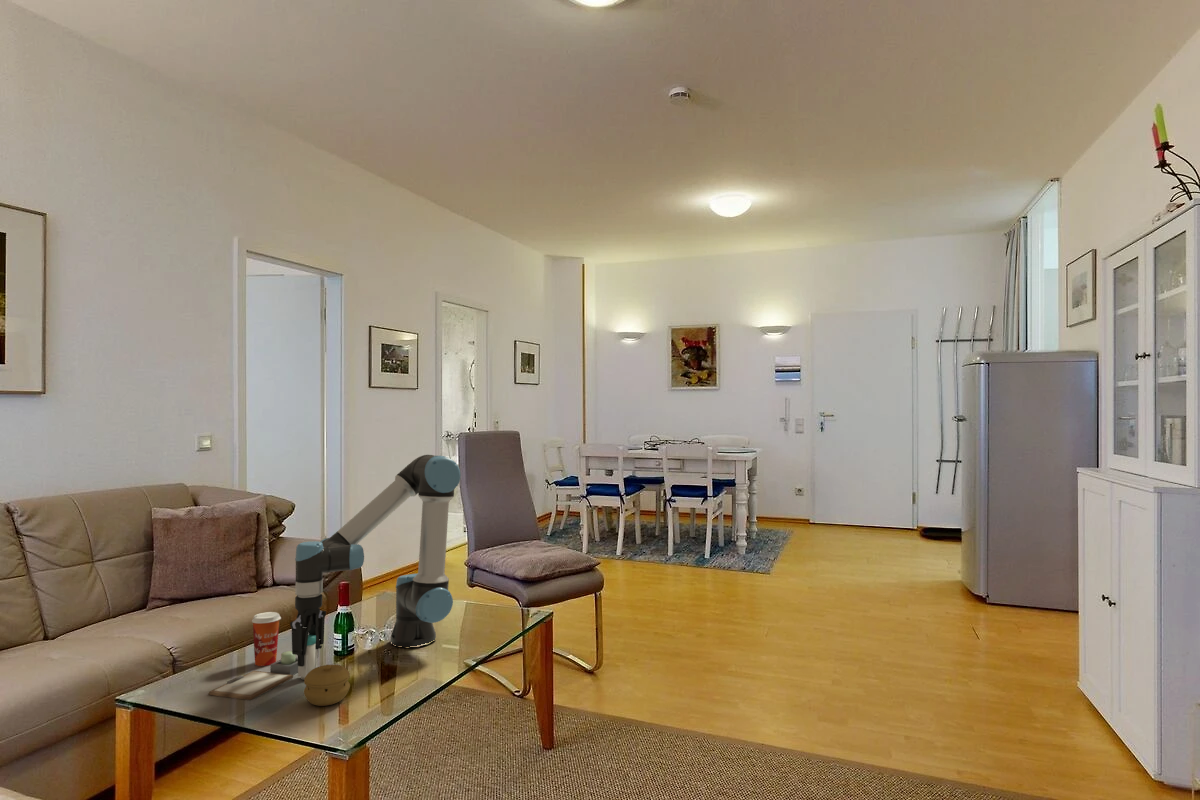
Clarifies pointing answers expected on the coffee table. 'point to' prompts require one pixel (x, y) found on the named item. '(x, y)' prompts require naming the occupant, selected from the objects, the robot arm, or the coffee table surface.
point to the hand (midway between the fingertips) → (307, 673)
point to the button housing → (284, 668)
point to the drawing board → (250, 685)
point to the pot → (326, 685)
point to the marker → (310, 653)
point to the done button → (288, 658)
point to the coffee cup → (265, 637)
